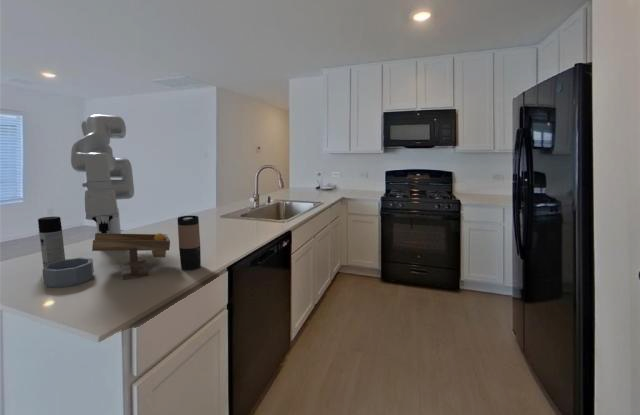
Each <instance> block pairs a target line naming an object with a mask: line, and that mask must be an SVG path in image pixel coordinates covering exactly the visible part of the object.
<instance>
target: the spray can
mask: <svg viewBox="0 0 640 415" xmlns="http://www.w3.org/2000/svg"><path fill="white" fill-rule="evenodd" d="M61 220H62V219H61V217H60V216H43V217H39V218H38V219H37V223H38V224H37V225H38V235H39V242H40V243H39V244H40V250H41V258H42V266H43V268H44V267H45V265H47V264H50V263H53V262H57V261H60V260H65V259H66V255H65V245H64V236H63V227H62V221H61Z"/></svg>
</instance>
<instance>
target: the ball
mask: <svg viewBox="0 0 640 415" xmlns="http://www.w3.org/2000/svg"><path fill="white" fill-rule="evenodd" d="M155 234H156V233H155ZM154 240H165V236H164V235H163V233H160V232H159V233H157V234H156V235H155V237H154Z"/></svg>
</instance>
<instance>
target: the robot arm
mask: <svg viewBox="0 0 640 415" xmlns="http://www.w3.org/2000/svg"><path fill="white" fill-rule="evenodd" d="M80 126H81V130H82V131H81V132H82V134H83V135H82V136H83V137H81V138H79V139H78V140H77V141H75V142H74V143H73V145H72V147H71V152H70V164H71V167H72V169H73V170H74V171H76V172H79V173H80V172H81V173H85V175H86V176H85V177H86V182H85V183H84V182H83V183H82V188H87V189H85V190H84V213H85V220H89V221H94V222H95V225H96V233H111V234H122V230H121V220H120V218H121V217H120V210H119V208H118V201H117V200H130V199H132V198H134V196H135V186H134V175H133V168H132V167H133V166H132V164H131V162H130V160H129V159H127V158H125V157H115V156H114V154H113V148H112V147H111V146H110V143H111V139H124V138H125V137H126V135H127V125H126V122H125V120H124V119H123V118H122V117H121V116H118V115H109V114H93V115H89V116H88V117H87V118H86V120H83V121H82V122H81V125H80Z"/></svg>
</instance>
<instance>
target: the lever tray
mask: <svg viewBox="0 0 640 415" xmlns="http://www.w3.org/2000/svg"><path fill="white" fill-rule="evenodd" d="M162 234H163V233H162ZM155 235H156V233H153V234H152V233H121V234H111V233H97V232H96V233H94V239H93V240H92V246H91V247H92V250H91V251H92V252H94V251H95V252H113V251H114V252H115V251H116V252H117V251H118V252H120V251H121V252H125V251H128V252H129V249H130V248H137V252H139V251H145V252H146V251H148V252H149V251H151V252H152V256H153V258H154V259H155V258H157V259H159V258H166V257H167V256H166V255H167V254H166V253H167V251H170V249H171V248H170V247H171V245H170V244H171V240H170V238H169V236H168V234H163V235H164V236H165V240H154V237H155Z"/></svg>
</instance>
